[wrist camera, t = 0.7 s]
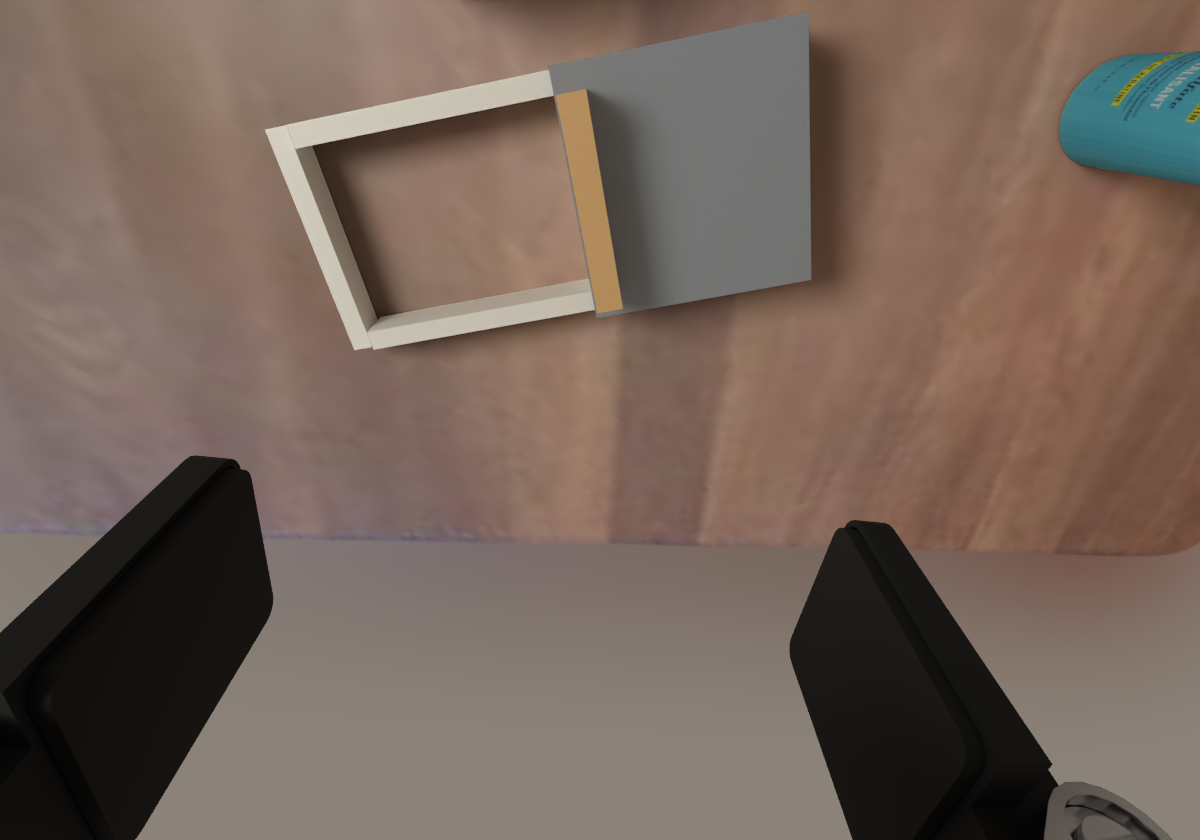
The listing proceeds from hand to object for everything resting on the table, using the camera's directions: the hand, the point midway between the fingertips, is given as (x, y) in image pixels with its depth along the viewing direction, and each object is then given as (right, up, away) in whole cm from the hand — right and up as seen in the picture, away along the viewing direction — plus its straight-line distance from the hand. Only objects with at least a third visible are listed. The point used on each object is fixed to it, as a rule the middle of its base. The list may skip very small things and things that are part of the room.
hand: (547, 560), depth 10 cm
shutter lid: (+5, +14, +18) cm, 23 cm away
